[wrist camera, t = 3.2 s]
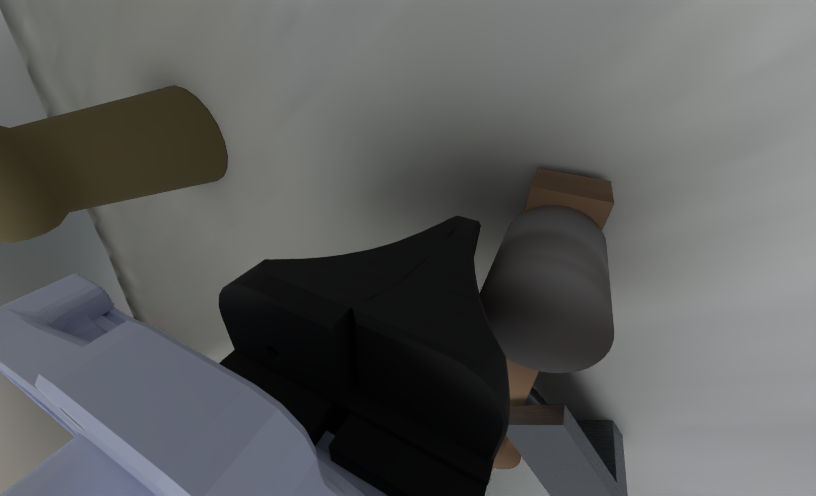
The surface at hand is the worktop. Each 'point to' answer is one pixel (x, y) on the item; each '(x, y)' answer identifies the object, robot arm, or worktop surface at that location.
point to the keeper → (569, 451)
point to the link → (551, 286)
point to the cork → (105, 158)
